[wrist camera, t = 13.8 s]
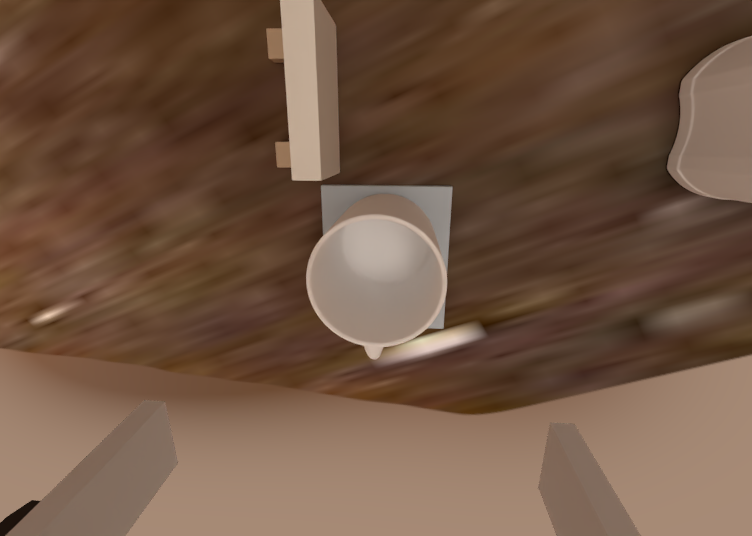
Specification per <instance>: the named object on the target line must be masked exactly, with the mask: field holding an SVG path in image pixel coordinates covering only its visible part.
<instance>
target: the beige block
mask: <svg viewBox="0 0 752 536" xmlns="http://www.w3.org/2000/svg"><path fill="white" fill-rule="evenodd" d="M280 7H281V22H282V28H271V29H266V31H267V44H268V57H269V59H270V60H271V61H273V62H275V63H284V67H285V82H286V97H287V112H288V127H289V142H275V146H276V159H277V167H291V172H292V180H297V181H322V180H324V179H327V178H329V177H331V176H334V175H336V174H338V173H340V149H339V113H338V77H337V40H336V24H335V23H334V21H333V19H332V18H331V16H330V14H329V13H328V11H327V9H326V8H325V6H324V4H323V3H322V1H321V0H280Z"/></svg>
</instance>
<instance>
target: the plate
mask: <svg viewBox="0 0 752 536" xmlns="http://www.w3.org/2000/svg"><path fill="white" fill-rule="evenodd" d="M375 194H394V195H398V196H402V197H404V198H406V199H408V200H410V201H412V202H414V203H415V204H416V205H417V206H419V207H420V208H421V209H422V210H423V211H424V213H425V214H426V215H427V217H428V218H429V220H430V222H431V224H432V226H433V229H434V232H435V235H436V238H437V241H438V245H439V248H440V251H441V254H442V257H443V261H444V264H445V268H446V273H447V265H448V250H449V234H450V218H451V203H452V186H438V185H333V184H323V185H321V199H322V222H323V235H324V234H325V233H326V232H327V231H328V230H329V229H330V228H331V227H332V225H333V224H334V223H335V222H336V221H337V220H338V219H339V218H340V217H341V216H342V215H343V214H344V212H345V211H346V210H347V209H348V208H349V207H351V206H352V205H353V204H354V203H356V202H357V201H359V200H361V199H363V198H365V197H368V196H371V195H375ZM444 312H445V301H444V303H443V306H442V308H441V310H440V312H439V314H438V316H437V317H436V319H435V320H434V321H433V323H432V324H431V325H430V326H429V327H428V328H437V329H443V328H444Z"/></svg>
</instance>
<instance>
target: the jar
mask: <svg viewBox="0 0 752 536" xmlns="http://www.w3.org/2000/svg"><path fill="white" fill-rule="evenodd" d="M679 99H680V122H679V128H678V133H677V136H676V140H675V143H674V145H673V148H672V150H671V152H670V154H669V157H668V163H667V170H668V172H669V173H670V175H671V176H672V177H673V178H674V179H675V180H676V181H677V182H678V183H679V184H680V185H681V186H683V187H684V188H686V189H687V190H689V191H691V192H693V193H696V194H698V195H702V196H706V197H711V198H717V199H724V200H737V201H743V202H749V203H752V36H750V37H747V38H743V39H740V40H737V41H735V42H732V43H730V44H727V45H725V46H723V47H721V48H720V49H718V50H716V51H714V52H713V53H711V54H710V55H708V56H707V57H706V58H704V59H703V60H702V61H700V62H699V63H698V64H697V65H696V66H695V67H694V68H693V69H692V70H691V71H690V72H689V73H688V74H687V75H686V76H685V77H684V78H683V80H682V81H681V85H680V91H679Z"/></svg>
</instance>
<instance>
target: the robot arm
mask: <svg viewBox="0 0 752 536" xmlns="http://www.w3.org/2000/svg"><path fill="white" fill-rule="evenodd" d="M177 463H178V462H177V457H176V452H175V447H174V442H173V437H172V433H171V428H170V423H169V418H168V413H167V409H166V404H165V401H151V400H144V401H143V402H142V403H141V404H140V405H139V406H138V407H137V408H136V409H135V410H134V411H133V412H132V413H131V414H130V415H129V416H128V417H126V418H125V420H123V421H122V422H121V423H120V424H119V425H118V426H117V427H116V428H115V429H114V430H113V431H112V432H111V433H110V434H109V435H108V436H107V437H106V438H105V439H104V440H103V441H102V442H101V443H100V444H99V445H98V446H97V447H96V448H95V449H94V450H93V451H92V452H91V453H90V454H89V455H88V456H86V458H84V459H83V460H82V461H81V462H80V463H79V464H78V465H77V466H76V467H75V468H74V469H73V470H72V471H71V472H70V473H69V474H68V475H67V476H66V477H65V478H64V479H63V480H62V481H61V482H60V483H59V484H58V485H57V486H56V487H55V488H54V489H53V490H52V491H51V492H50V493H49V494H48V495H47V496H45V497H44V498H43V499H42V500H41V501H34V500H32V501H30V502H29V503H27V504H26V505H24V506H23V507H21V508H20V509H18V510H17V511H15V512H14V513H12V514H11V515H9V516H8V517H6V518H5V519H4V520H3V521H2V522H1V523H0V536H126V534H127V533H128V532H129V530H130V529H131V527H132V526H133V524H134V523H135V522H136V520H137V519H138V518H139V516H140V515H141V513H142V512H143V511H144V509H145V508H146V506H147V505H148V504H149V502H150V501H151V500H152V498H153V497H154V495H155V494H156V493H157V491H158V490H159V488H160V487H161V485H162V484H163V483H164V482H165V480H166V479H167V477H168V476H169V475H170V473H171V471H172V470H173V469H174V467H175V466H176V465H177ZM538 488H539V490H540V493H541V496H542V498H543V501H544V504H545V506H546V509H547V511H548V514H549V517H550V519H551V522H552V525H553V527H554V530H555V533H556V535H557V536H641V535H640V534H639V532H638V530H637V528H636V527H635V525H634V523H633V522H632V520H631V518H630V517H629V515H628V513H627V512H626V510H625V508H624V507H623V505H622V503H621V502H620V500H619V498H618V496H617V495H616V493H615V491H614V490H613V488H612V487H611V485H610V483H609V482H608V480H607V478H606V476H605V475H604V473H603V471H602V470H601V468H600V466H599V465H598V463H597V461H596V459H595V458H594V456H593V454H592V453H591V451H590V449H589V448H588V446H587V444H586V443H585V441H584V439H583V438H582V436H581V434H580V433H579V431H578V429H577V428H576V426H575V424H565V423H550V425H549V431H548V436H547V442H546V447H545V453H544V459H543V464H542V470H541V475H540V481H539V487H538Z"/></svg>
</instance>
